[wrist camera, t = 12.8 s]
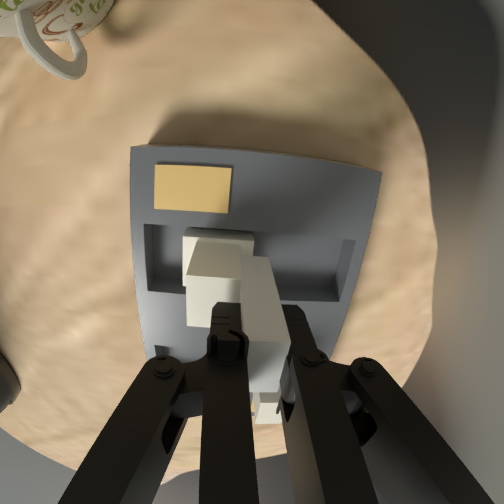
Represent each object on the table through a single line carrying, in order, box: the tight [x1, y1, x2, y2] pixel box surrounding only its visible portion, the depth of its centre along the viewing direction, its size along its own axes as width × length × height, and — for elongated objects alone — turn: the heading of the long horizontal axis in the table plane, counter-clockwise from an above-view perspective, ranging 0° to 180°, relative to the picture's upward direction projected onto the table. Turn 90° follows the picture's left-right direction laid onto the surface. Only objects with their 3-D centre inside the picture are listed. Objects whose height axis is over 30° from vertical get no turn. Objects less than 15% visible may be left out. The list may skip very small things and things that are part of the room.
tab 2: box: [253, 385, 282, 424], centre depth 19 cm, size 4×3×6 cm
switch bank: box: [130, 144, 382, 416], centre depth 19 cm, size 14×22×3 cm, turn 174°
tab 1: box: [183, 228, 254, 328], centre depth 15 cm, size 4×3×6 cm
